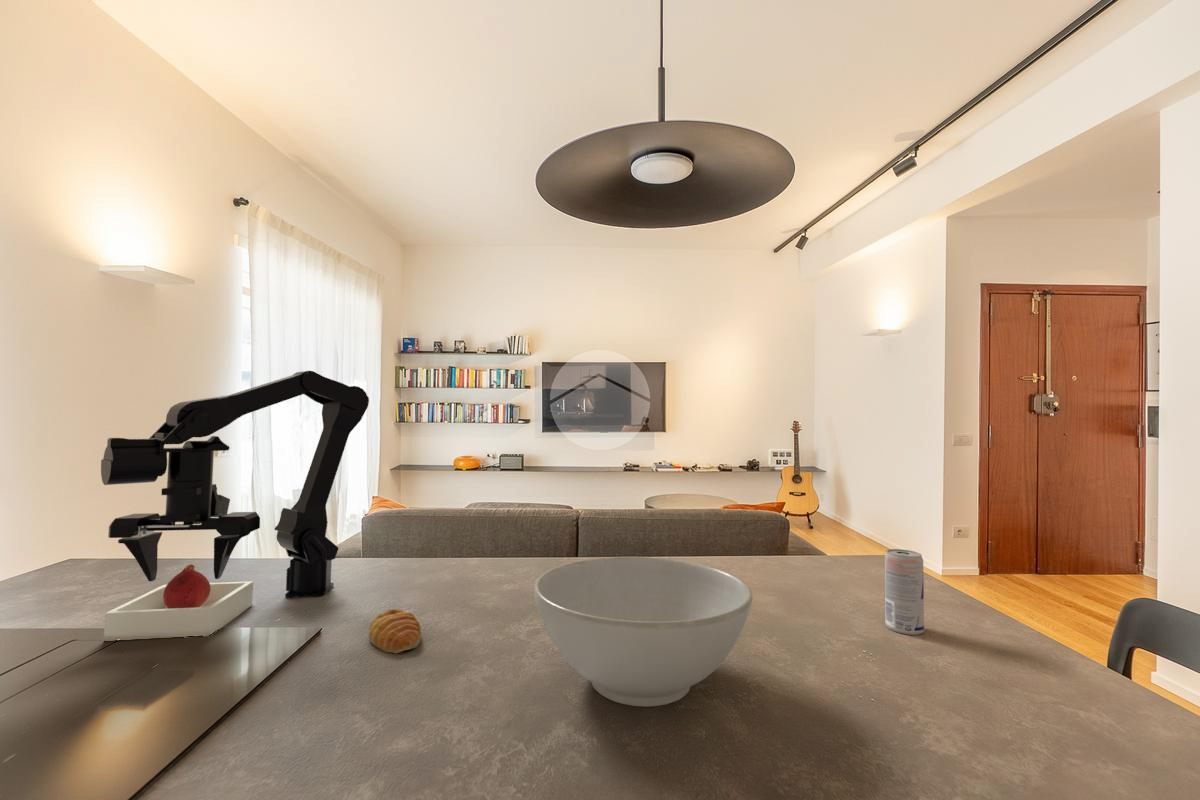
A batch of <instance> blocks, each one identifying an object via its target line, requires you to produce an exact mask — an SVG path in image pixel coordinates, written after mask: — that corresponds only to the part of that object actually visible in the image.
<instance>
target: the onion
mask: <svg viewBox="0 0 1200 800" xmlns="http://www.w3.org/2000/svg"><path fill="white" fill-rule="evenodd" d="M195 567H196V566H195V565H194V564H193V563H192V564H191V563H190V564H187V565H186V566H185V567H184V568H183V570H181V572H179V573H178V574H176V575H174V577H172V579H171V580H170V581H168V583H167V584H166V585H167V586H166V588H165V590H164V595H163V597H164V604H165V605H166V607H167V608H168V609H173V608H195V607H200V606H201V605H202V604H203V603H204V602H205V601H206V600H207V598H208V596H209V594H210V583H211V582H209V580H208V579H207V577H206V576H205V575H204V574H202V573H201V572H199V571H198V570H195Z"/></svg>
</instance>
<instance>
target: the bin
mask: <svg viewBox="0 0 1200 800" xmlns="http://www.w3.org/2000/svg"><path fill="white" fill-rule="evenodd" d="M209 583H210V594H209V596H208V598H207V600H206V601H205V602H204V603H203V604H202V605H201V606H200V607H195V608H173V609H168V608H167V607H166V605H165V604H164V597H163V595H164V590H165V588H166V586H167V584H163V585H160V586H159V587H156V588H154V589H152V590H150V591H148V592H147V593H144V594H142V595H140V596H138V597H136V598H133V599H132V600H130V601H128V602H126V603H123V604H121V605H120V606H117V607H115V608H113V609H111V610H108V611H107V612H105V613H104V624H103V625H104V627H103V640H104V639H108V638H116V637H131V636H133V637H134V636H199V635H210V634H212V633H213V632H214V631H215V630H218V629H219V630H221V628H224V626H226V625H228V623H230V622H231V621H233V620H234V619H236V617H238V616H240V615H241V614H242V613H244V612H245V611H246V610H247V609H249V608H251V607H252V606H253V599H254V598H253V597H254V596H253V593H254V581H252V580H251V581H232V582H229V581H227V582H226V581H225V582H223V581H222V582H209ZM219 630H218V631H219ZM212 635H213V634H212Z"/></svg>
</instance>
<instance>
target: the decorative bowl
mask: <svg viewBox="0 0 1200 800" xmlns="http://www.w3.org/2000/svg"><path fill="white" fill-rule="evenodd" d="M533 590H534V598H535V602H536V605H537V610H538V612H539V615H540V619H541V620H542V623H543V626H544V628H545V630H546V632H547V634H548V637H549V638H550V640H551V641H552V643H553V645H554V646H555V648H556V649H557V651H558V652H559V654H560V655H561V656H562V657H563V658H564V660H565V661H566V662H567V663H568V664H569V666H571V667H572V668H573V669H574V670H575V671H576V672H578V674H580V675H581V676H583V677H584V678H585V679H587V681H588V680H589V681H590V682H591V684H592V685H591V686H592V687H593V689H594V690H595V691H596V692H597V694H599V695H601V696H602V697H604V698H606V699H608V700H610V701H613V702H615V703H619V704H622V705H627V706H630V707H631V706H632V707H644V708H645V707H658V706H659V707H660V706H665V705H669V704H671V703H675V702H677V701H679V700H682V699H683V698H684V697H685V696H687V694H688V693H689V691H690V689H691V688H692V687H693V686H694V685H697V684H698V683H700V682H701V681H704V680H705V679H706V678H708V677H709V676H710V675H712V673H713V672H715V671H716V670H717V669H718V668H719V666H721V664H722V663H723V662H724V661H725V660H726V658H728V656H729V655H730V653H731V652H732V651H733V649H734V647H735V645H736V644H737V643H738V640H739V639H740V636H741V635H742V633H743V630H744V628H745V626H746V623H747V620H748V619H749V618H748V617H749V615H750V611H751V608H752V603H753V592H752V590H751V588H750V586H749V585H748V584H747V583H746V582H745V581H743V580H742V579H741V578H740V577H737V576H735V575H734V574H732V573H729V572H727V571H724V570H722V569H718V568H715V567H713V566H709V565H706V564H701V563H697V562H691V561H686V560H679V559H672V558H663V557H649V556H610V557H609V556H608V557H598V558H590V559H584V560H578V561H573V562H569V563H565V564H561V565H559V566H556V567H554V568H553V567H552V568H551V569H549V570H547V571H545V572H544V573H543V574H541V575H539V576H538V578H537V580H535V582H534V586H533Z"/></svg>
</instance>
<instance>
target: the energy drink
mask: <svg viewBox="0 0 1200 800" xmlns="http://www.w3.org/2000/svg"><path fill="white" fill-rule="evenodd" d="M924 583H925V582H924V558H923V557H922V553H920V552H917V551H913V550H909V549H902V548H892V549H891V548H890V549H889V548H888V549H887V550H886V552H885V554H884V599H885V600H884V601H885V603H884V604H885V606H884V609H885V611H884V613H885V616H884V617H885V618H884V619H885V625H886V627H887V628H888V629H889V630H890V631H892V632H895V633H898V634H902V635H903V634H904V635H908V636H910V635H911V636H920V635H921V634H923V633H924V632H925V605H924V604H925V599H924V598H925V597H924V595H925V590H924V588H925V587H924Z"/></svg>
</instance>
